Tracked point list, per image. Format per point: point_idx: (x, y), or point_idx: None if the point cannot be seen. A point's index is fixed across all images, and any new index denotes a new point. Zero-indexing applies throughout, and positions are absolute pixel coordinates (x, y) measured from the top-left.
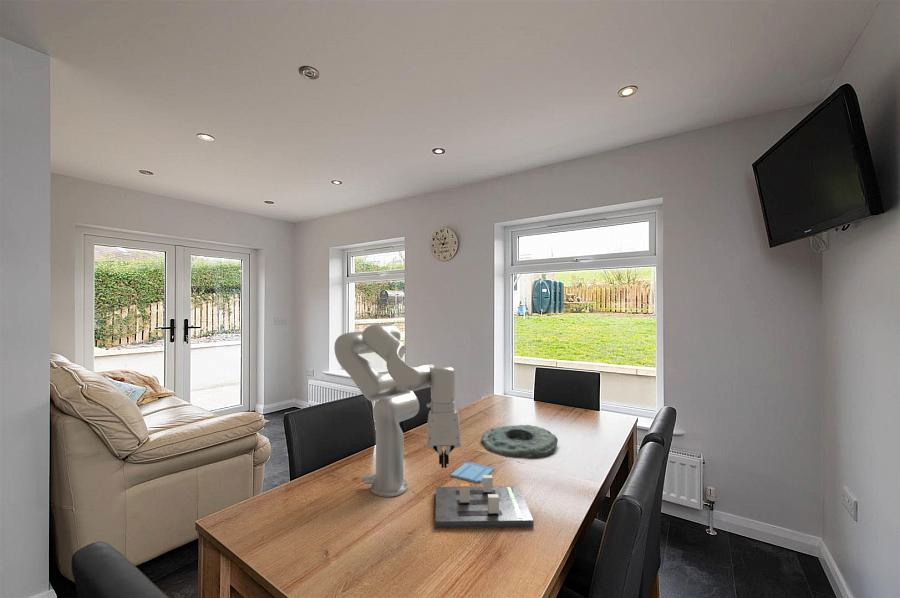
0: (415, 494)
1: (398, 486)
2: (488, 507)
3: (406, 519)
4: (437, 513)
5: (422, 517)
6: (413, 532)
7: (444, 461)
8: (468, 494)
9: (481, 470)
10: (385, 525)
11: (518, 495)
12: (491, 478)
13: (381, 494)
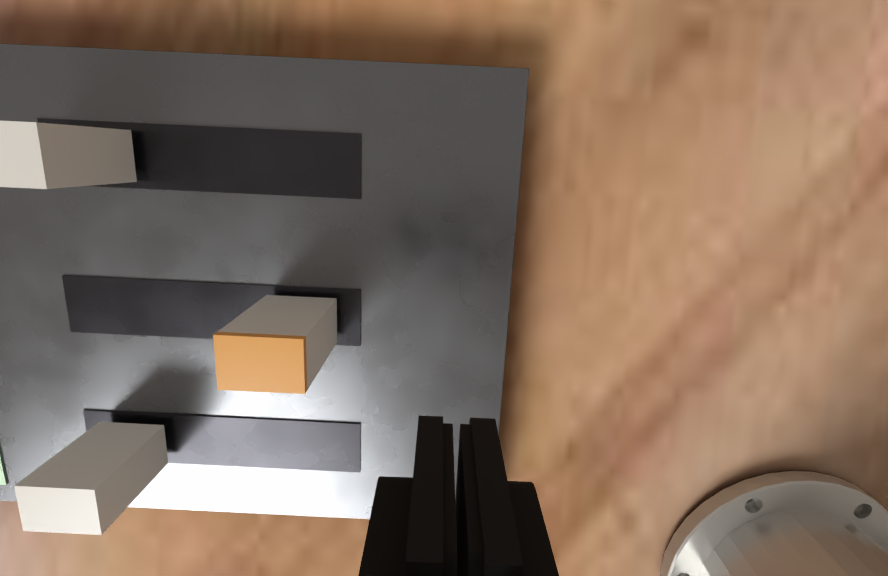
0: (617, 490)
1: (746, 543)
2: (106, 140)
3: (702, 203)
4: (506, 179)
5: (596, 220)
6: (672, 40)
7: (449, 476)
8: (252, 312)
9: None
10: (847, 140)
11: None
12: (28, 482)
13: (847, 484)
